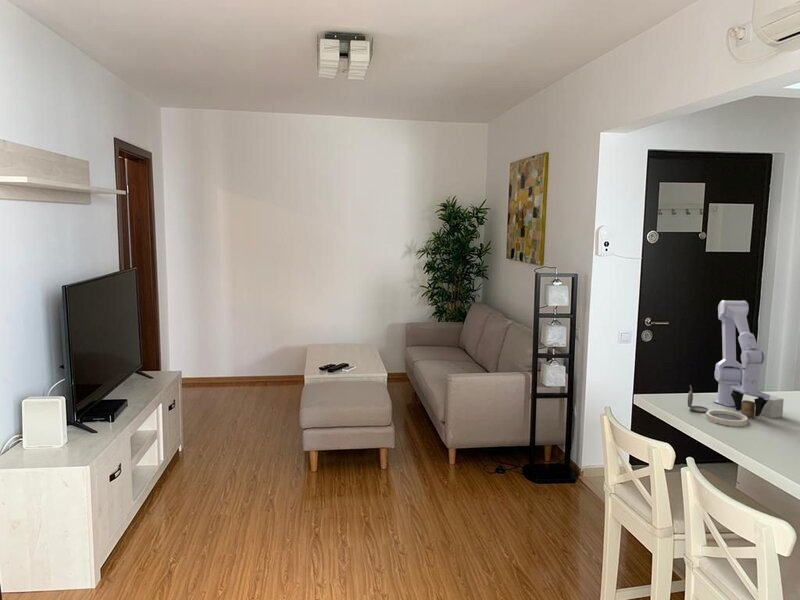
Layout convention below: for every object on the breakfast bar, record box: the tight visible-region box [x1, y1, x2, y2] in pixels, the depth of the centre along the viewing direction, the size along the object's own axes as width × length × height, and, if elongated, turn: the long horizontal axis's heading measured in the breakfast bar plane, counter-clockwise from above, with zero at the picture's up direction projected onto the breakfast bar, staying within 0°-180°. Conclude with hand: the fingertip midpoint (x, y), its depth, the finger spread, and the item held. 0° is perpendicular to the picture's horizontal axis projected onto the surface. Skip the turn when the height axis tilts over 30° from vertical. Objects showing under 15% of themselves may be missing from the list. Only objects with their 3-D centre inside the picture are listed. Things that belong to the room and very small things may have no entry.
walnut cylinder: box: [740, 399, 755, 419], centre depth 231 cm, size 4×4×6 cm
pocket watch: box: [687, 384, 709, 413], centre depth 239 cm, size 8×8×10 cm
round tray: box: [705, 409, 749, 427], centre depth 227 cm, size 14×14×2 cm
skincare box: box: [760, 394, 785, 419], centre depth 233 cm, size 6×6×7 cm
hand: (747, 413), depth 232 cm, fingers open, 7 cm apart
